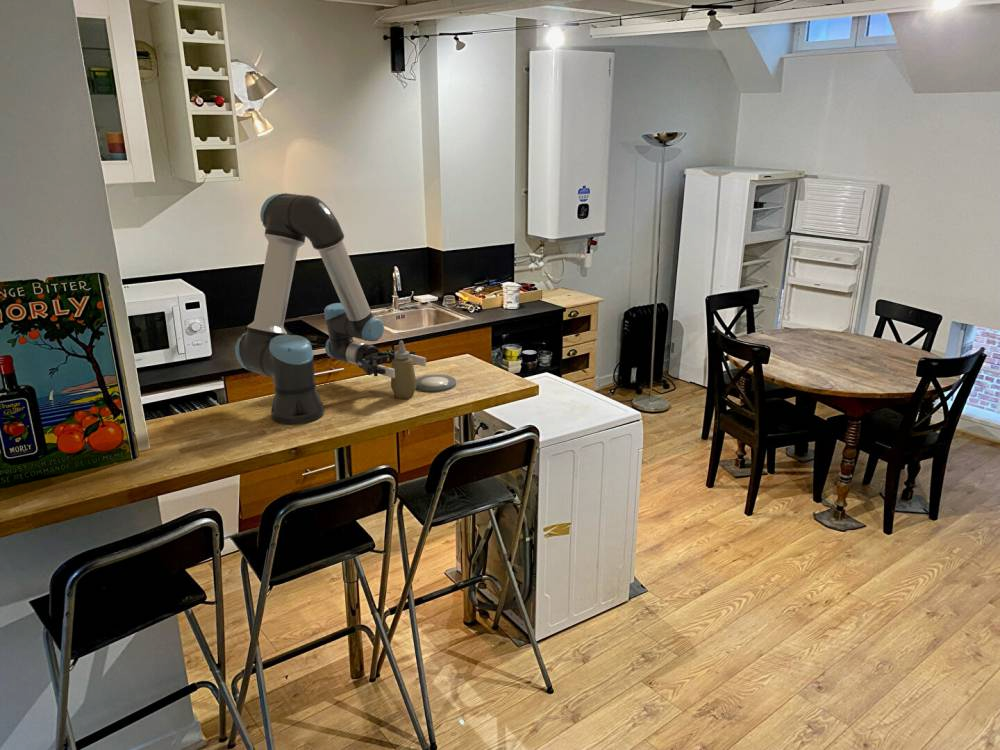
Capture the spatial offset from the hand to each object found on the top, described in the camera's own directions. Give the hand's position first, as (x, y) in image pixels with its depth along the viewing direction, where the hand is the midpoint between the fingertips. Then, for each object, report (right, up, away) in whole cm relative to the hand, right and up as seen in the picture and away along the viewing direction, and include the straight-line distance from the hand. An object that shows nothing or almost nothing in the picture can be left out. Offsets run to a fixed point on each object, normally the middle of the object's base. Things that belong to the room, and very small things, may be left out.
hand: (410, 367), depth 233 cm
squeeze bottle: (-2, -9, +5) cm, 11 cm away
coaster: (+6, -5, +15) cm, 17 cm away
